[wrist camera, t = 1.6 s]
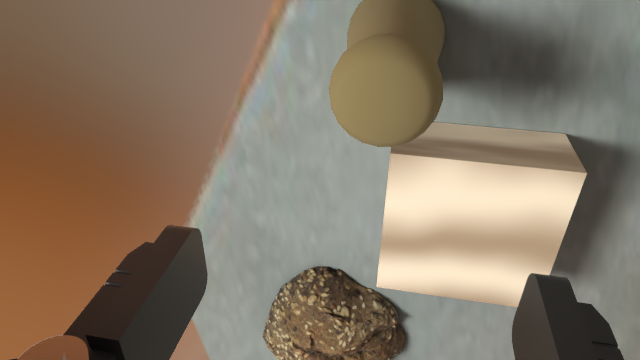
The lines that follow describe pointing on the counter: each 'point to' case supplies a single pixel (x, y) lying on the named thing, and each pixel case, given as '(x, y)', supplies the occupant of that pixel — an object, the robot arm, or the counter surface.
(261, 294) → the counter surface
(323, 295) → the bread roll
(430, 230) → the ash block
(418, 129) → the olive knobbed peg
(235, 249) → the counter surface
